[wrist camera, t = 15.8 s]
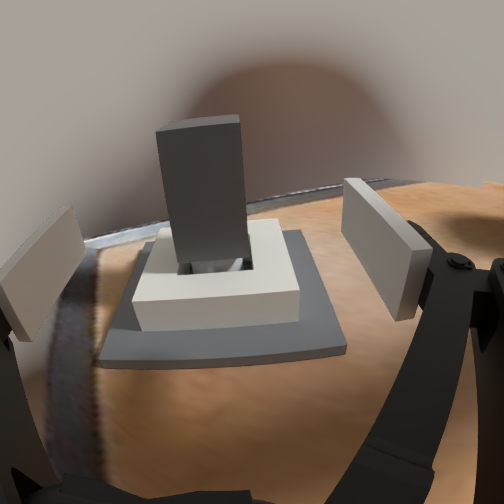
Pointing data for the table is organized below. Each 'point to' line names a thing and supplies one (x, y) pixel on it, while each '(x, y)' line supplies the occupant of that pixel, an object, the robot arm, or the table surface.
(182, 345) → the socket
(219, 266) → the plug
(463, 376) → the table surface
